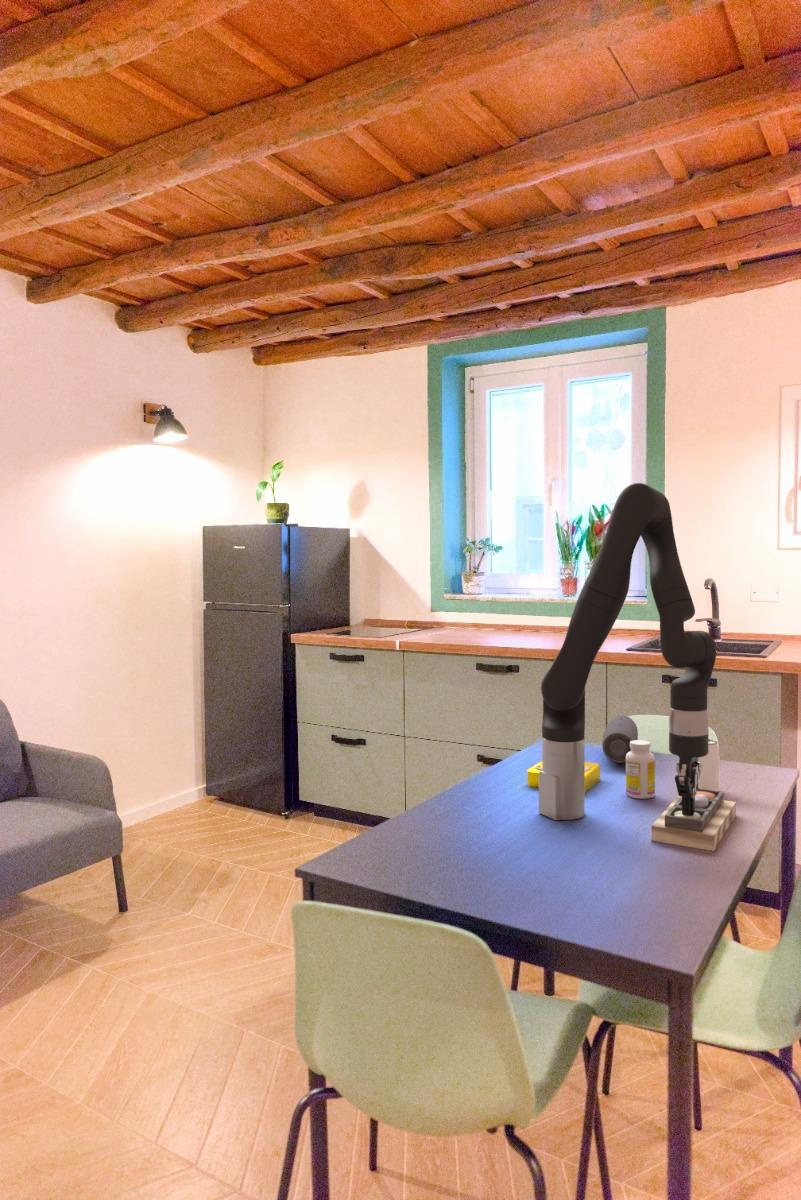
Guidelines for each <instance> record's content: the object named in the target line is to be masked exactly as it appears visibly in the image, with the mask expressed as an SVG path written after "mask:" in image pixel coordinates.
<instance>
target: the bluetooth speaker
mask: <svg viewBox="0 0 801 1200" xmlns="http://www.w3.org/2000/svg"><path fill="white" fill-rule="evenodd" d="M602 734H603V736H602V742H601V745H602V746H601V747H602V751H603V754H604V755H605V757H606V758H607V759H608V760H610V761H612V762H614V763H619V764H620V763H621V764H622V763H626V754H627V753H628V752H630V751H631V748H630V741H633V740H639V739H638V738H639V732H638V726H637V724H636V722H635V721H634V720H633V719H632V718H631V717H629V716H627V715H617V716H614V717H613V718H612V719H610V721H609V722H608V723H607V725H606V728H605V730H604V732H603V733H602Z"/></svg>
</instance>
